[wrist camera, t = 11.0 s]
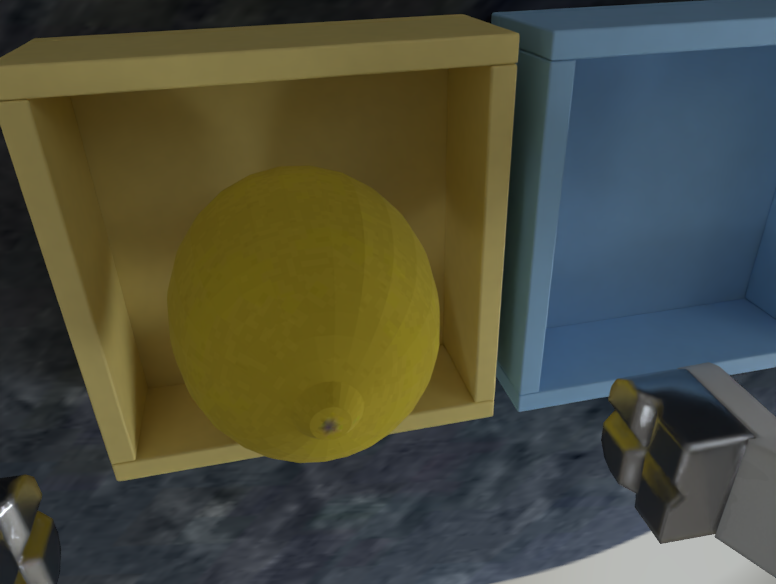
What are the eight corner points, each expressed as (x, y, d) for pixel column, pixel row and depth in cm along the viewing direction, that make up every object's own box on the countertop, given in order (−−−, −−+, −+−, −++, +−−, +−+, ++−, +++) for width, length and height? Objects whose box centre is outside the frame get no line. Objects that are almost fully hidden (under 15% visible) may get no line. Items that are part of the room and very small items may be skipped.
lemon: (197, 101, 15) (173, 242, 8) (415, 152, 17) (545, 302, 10) (166, 304, 17) (127, 546, 10) (361, 330, 19) (436, 551, 12)
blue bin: (490, 12, 16) (553, 30, 13) (830, -8, 18) (957, 5, 15) (474, 342, 21) (517, 412, 18) (742, 302, 23) (823, 359, 20)
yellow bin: (33, 38, 14) (-21, 66, 11) (463, 13, 16) (521, 32, 13) (133, 395, 19) (116, 483, 16) (454, 345, 21) (494, 417, 18)
